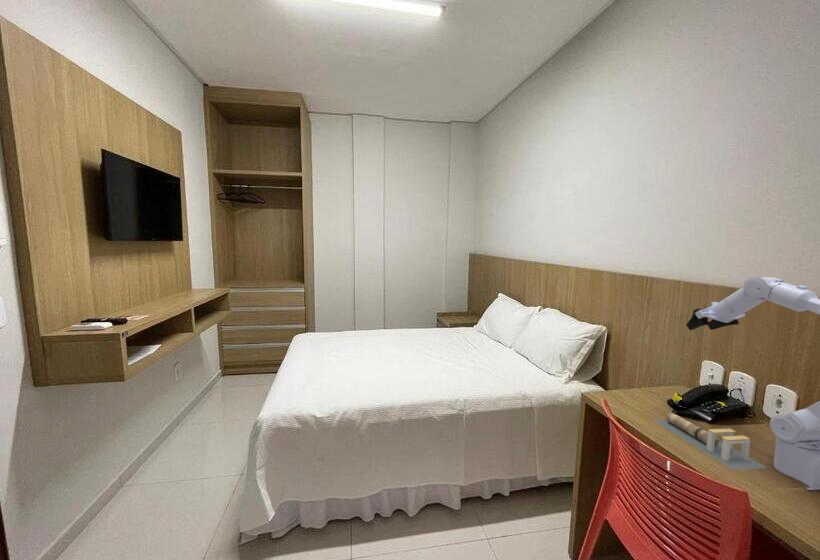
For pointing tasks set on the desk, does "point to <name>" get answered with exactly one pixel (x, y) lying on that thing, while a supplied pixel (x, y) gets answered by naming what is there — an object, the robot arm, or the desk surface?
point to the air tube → (690, 428)
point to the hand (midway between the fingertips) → (699, 327)
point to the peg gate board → (719, 446)
